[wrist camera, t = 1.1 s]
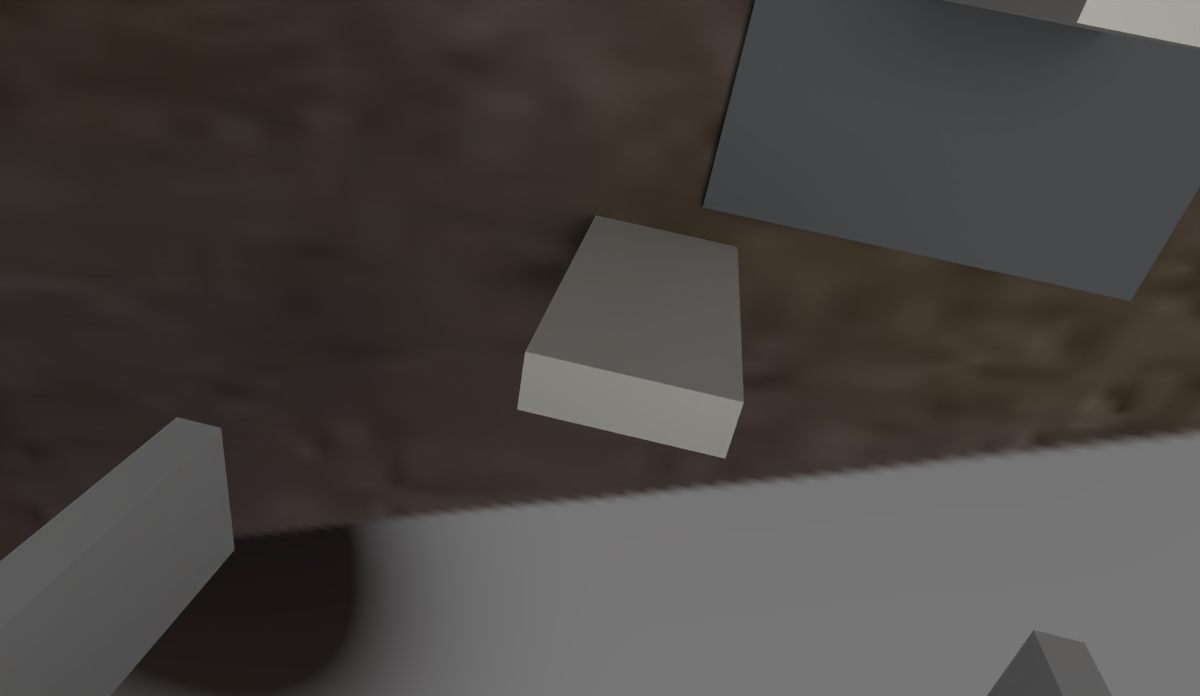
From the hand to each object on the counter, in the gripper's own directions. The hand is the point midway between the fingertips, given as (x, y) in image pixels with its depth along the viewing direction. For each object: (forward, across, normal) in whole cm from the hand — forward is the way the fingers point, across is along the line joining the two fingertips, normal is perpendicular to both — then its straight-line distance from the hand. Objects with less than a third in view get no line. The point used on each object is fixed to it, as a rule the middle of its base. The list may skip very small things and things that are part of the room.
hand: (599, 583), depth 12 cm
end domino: (+15, 0, 0) cm, 15 cm away
